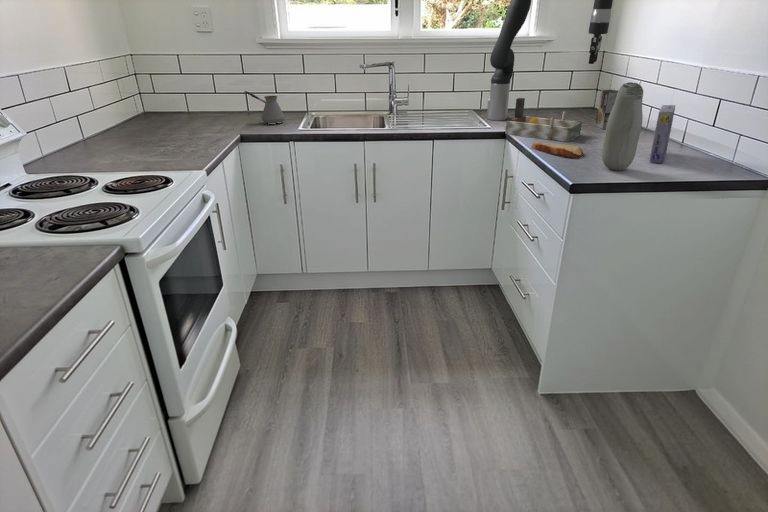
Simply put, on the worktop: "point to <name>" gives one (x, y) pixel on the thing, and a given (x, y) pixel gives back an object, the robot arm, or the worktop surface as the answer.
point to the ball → (533, 120)
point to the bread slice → (559, 149)
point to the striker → (519, 111)
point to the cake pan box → (662, 133)
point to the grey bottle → (623, 127)
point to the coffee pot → (270, 109)
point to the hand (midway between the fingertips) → (592, 62)
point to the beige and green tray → (545, 129)
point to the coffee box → (605, 107)
